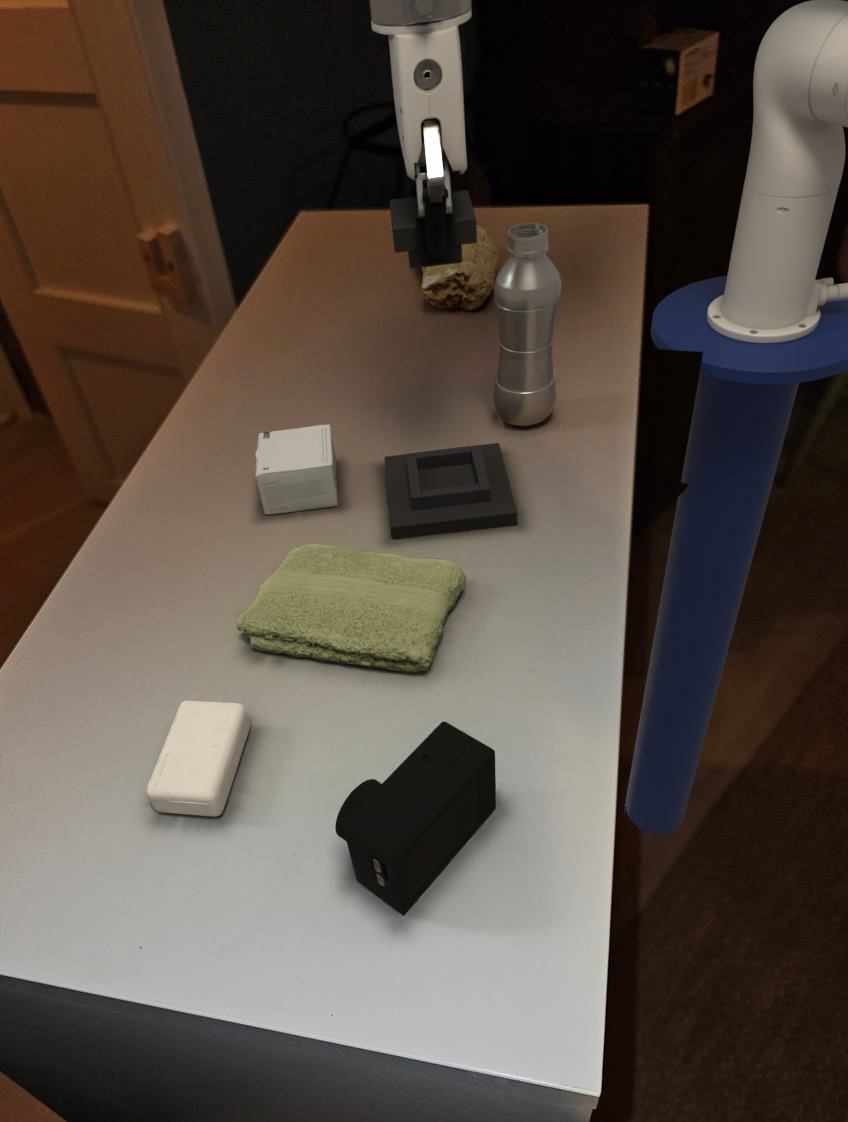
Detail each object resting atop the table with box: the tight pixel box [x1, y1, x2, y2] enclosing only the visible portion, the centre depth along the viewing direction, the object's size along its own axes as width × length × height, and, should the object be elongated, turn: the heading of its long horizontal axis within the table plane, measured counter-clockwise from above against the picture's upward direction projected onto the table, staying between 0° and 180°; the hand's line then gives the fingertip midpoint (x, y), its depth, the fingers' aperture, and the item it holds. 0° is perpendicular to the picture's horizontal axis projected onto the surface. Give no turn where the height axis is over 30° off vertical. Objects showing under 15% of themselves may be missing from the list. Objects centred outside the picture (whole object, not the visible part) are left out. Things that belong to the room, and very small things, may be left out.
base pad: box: [384, 442, 518, 540], centre depth 86 cm, size 12×12×3 cm
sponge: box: [420, 224, 501, 311], centre depth 118 cm, size 13×8×20 cm
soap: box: [145, 700, 252, 818], centre depth 65 cm, size 9×6×3 cm, turn 171°
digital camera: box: [335, 721, 497, 917], centre depth 57 cm, size 10×5×7 cm, turn 139°
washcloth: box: [235, 543, 467, 673], centre depth 75 cm, size 13×18×3 cm
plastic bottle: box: [492, 222, 563, 427], centre depth 88 cm, size 6×7×20 cm
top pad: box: [389, 189, 477, 270], centre depth 76 cm, size 7×7×4 cm
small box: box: [254, 423, 339, 515], centre depth 89 cm, size 8×8×5 cm
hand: (433, 242), depth 76 cm, fingers closed on top pad, 7 cm apart
